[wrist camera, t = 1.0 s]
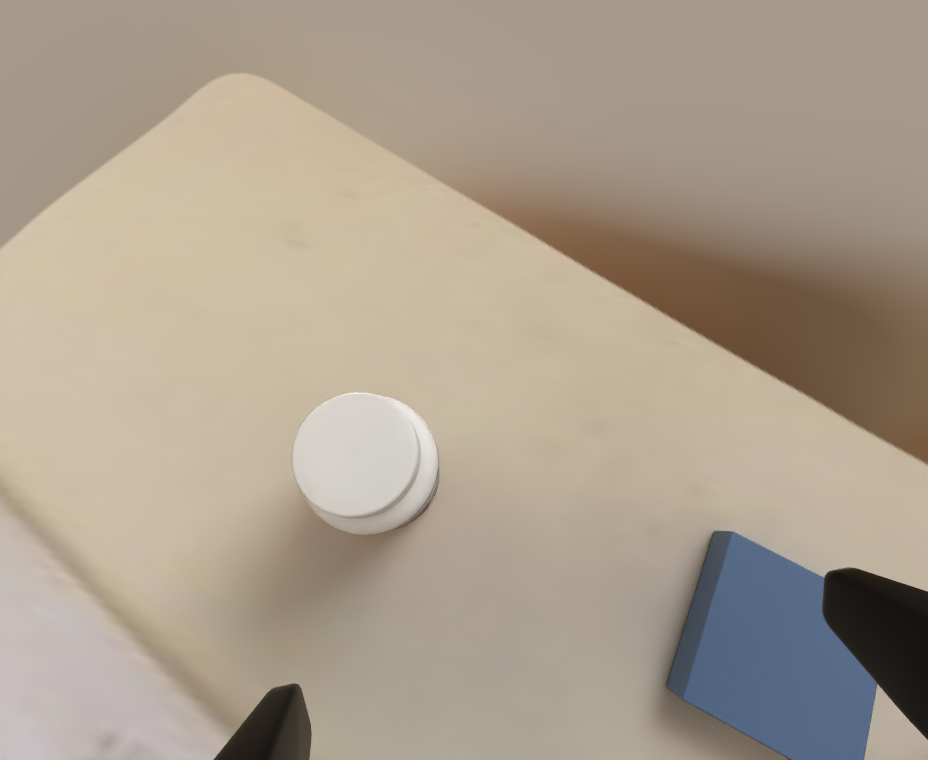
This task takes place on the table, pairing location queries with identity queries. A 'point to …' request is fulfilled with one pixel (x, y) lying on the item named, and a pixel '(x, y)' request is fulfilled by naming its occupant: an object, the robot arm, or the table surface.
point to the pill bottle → (365, 463)
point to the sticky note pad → (771, 656)
